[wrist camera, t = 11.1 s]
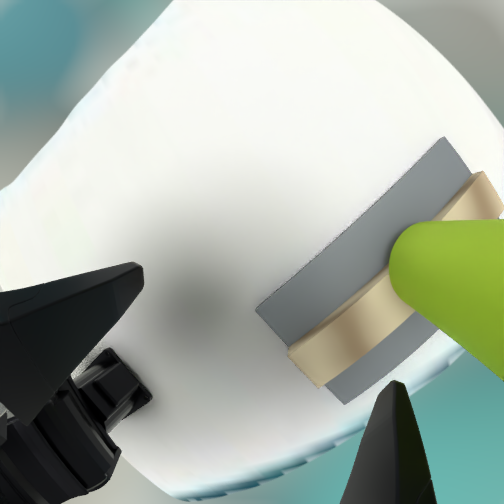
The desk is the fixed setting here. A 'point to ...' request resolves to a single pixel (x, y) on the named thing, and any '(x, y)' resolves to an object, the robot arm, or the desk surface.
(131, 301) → the robot arm
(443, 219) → the ridge
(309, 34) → the desk surface
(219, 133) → the desk surface
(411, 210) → the base board
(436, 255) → the soap dispenser
